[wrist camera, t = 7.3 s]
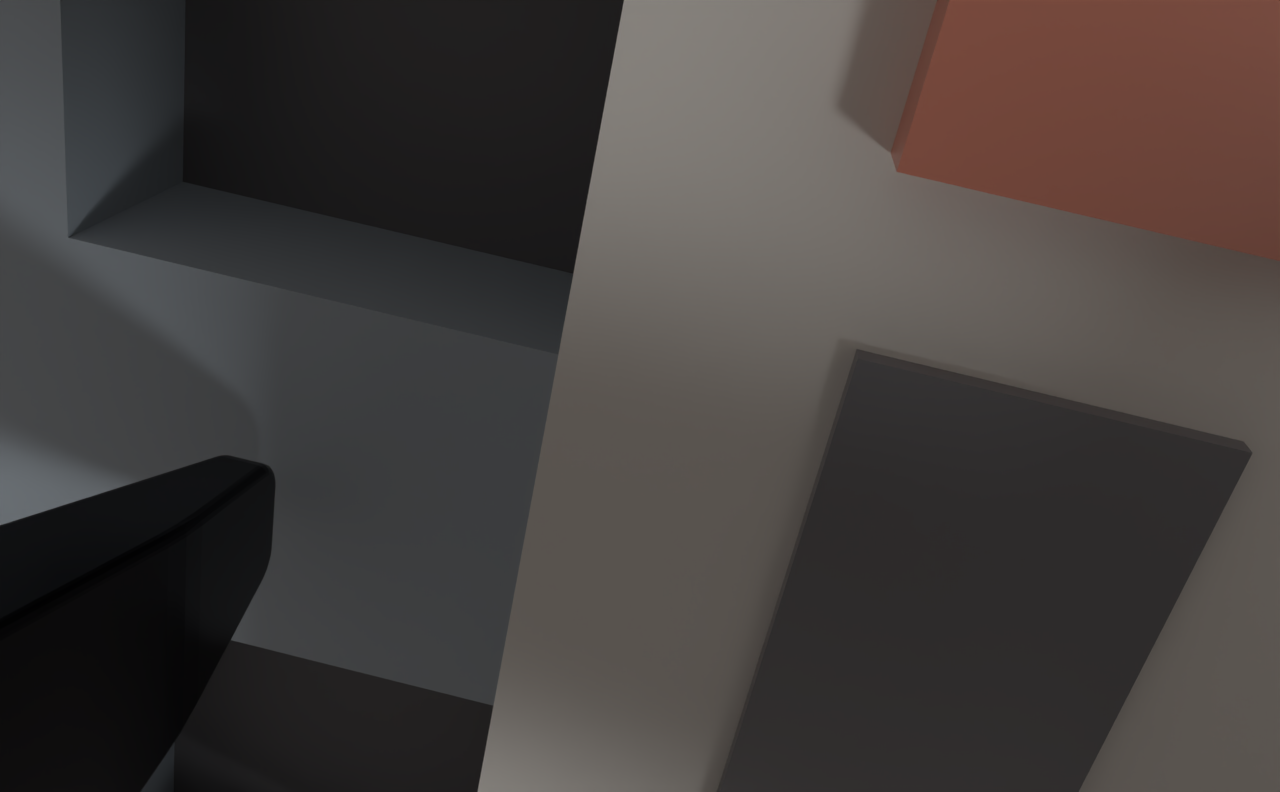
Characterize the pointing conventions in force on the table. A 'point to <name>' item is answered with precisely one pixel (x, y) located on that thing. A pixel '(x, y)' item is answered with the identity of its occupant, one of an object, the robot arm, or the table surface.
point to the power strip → (914, 409)
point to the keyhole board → (306, 332)
